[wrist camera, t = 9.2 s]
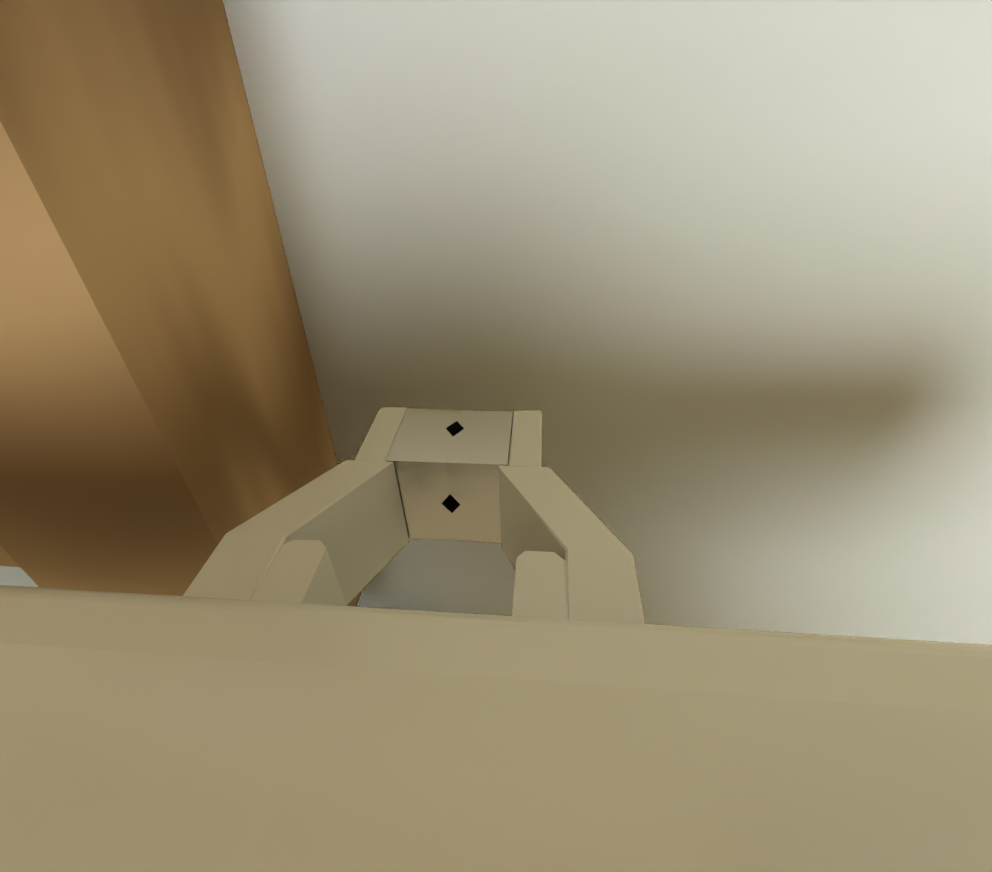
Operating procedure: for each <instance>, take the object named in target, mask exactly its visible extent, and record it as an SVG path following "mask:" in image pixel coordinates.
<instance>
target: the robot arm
mask: <svg viewBox="0 0 992 872" xmlns="http://www.w3.org/2000/svg"><path fill="white" fill-rule="evenodd" d="M541 464H542V412H541V410H531V411H514V412H513V411H462V410H451V409H430V408H407V407H383V408H381V409H379V410H378V412H377V414H376V416H375V418H374V420H373V422H372V424H371V426H370V429H369V431H368V433H367V435H366V437H365V439H364V441H363V443H362V445H361V447H360V449H359V451H358V453H357V455H356V457H355V459H354V460H345V461H344V462H342V463H340V464H339V465H337V466H335V467H334V468H332V469H331V470H329V471H327V472H326V473H324V474H322V475H321V476H319V477H318V478H316V479H314V480H313V481H311V482H309V483H308V484H306V485H304V486H303V487H301V488H300V489H298V490H296V491H295V492H293V493H291V494H290V495H288V496H286V497H285V498H283V499H282V500H280V501H278V502H277V503H275V504H273V505H272V506H270V507H269V508H267V509H265V510H264V511H262V512H260V513H259V514H257V515H255V516H254V517H252V518H251V519H249V520H247V521H246V522H244V523H242V524H241V525H239V526H237V527H236V528H234V529H233V530H231V531H229V532H228V533H226V534H225V536H224V537H223V538H222V540H221V541H220V543H219V544H218V546H217V547H216V549H215V550H214V551H213V553H212V554H211V556H210V557H209V559H208V560H207V562H206V563H205V564H204V566H203V567H202V569H201V570H200V572H199V573H198V575H197V576H196V577H195V579H194V580H193V582H192V583H191V585H190V586H189V588H188V589H187V590H186V592H185V593H184V595H183V596H174V595H157V594H141V593H124V592H108V591H91V590H74V589H58V588H41V587H25V586H8V585H0V872H992V645H985V644H969V643H952V642H936V641H919V640H902V639H886V638H869V637H853V636H836V635H819V634H803V633H786V632H770V631H753V630H737V629H720V628H703V627H687V626H670V625H654V624H645V620H644V614H643V608H642V603H641V597H640V591H639V586H638V580H637V574H636V568H635V563H634V557H633V554H632V553H631V552H630V551H629V550H628V549H627V548H626V547H625V545H624V544H623V543H622V542H621V541H620V540H619V539H618V538H617V537H616V536H615V535H614V534H613V533H612V532H611V531H610V530H609V529H608V528H607V527H606V526H605V525H604V524H603V523H602V521H601V520H600V519H599V518H598V517H597V516H596V515H595V514H594V513H593V512H592V511H591V510H590V509H589V508H588V507H587V506H586V505H585V504H584V503H583V502H582V501H581V500H580V499H579V497H578V496H577V495H576V494H575V493H574V492H573V491H572V490H571V489H570V488H569V487H568V486H567V485H566V484H565V483H564V482H563V481H562V480H561V479H560V478H559V477H558V476H557V475H556V473H555V472H554V471H553V470H552V469H551V468H549V467H541ZM409 539H449V540H466V541H480V542H493V543H501V546H502V548H503V549H504V551H505V553H506V555H507V556H508V558H509V560H510V562H511V563H512V565H513V567H514V569H515V582H514V595H513V607H512V616H506V615H489V614H473V613H456V612H440V611H423V610H406V609H390V608H373V607H357V606H347V605H348V603H349V602H350V601H351V600H352V599H353V598H354V597H355V596H356V595H357V594H358V593H359V592H360V591H361V590H362V589H363V588H364V587H365V586H366V585H367V584H368V583H369V582H370V581H371V580H372V579H373V578H374V577H375V576H376V575H377V574H378V573H379V572H380V571H381V570H382V569H383V568H384V567H385V566H386V564H387V563H388V562H389V561H390V560H391V559H392V558H393V557H394V556H395V555H396V554H397V553H398V552H399V551H400V550H401V549H402V548H403V547H404V546H405V545H406V544H407V543H408V542H409Z"/></svg>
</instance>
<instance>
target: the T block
mask: <svg viewBox="0 0 992 872" xmlns="http://www.w3.org/2000/svg"><path fill="white" fill-rule="evenodd" d="M337 465H338V464H337V460H336V456H335V452H334V448H333V444H332V440H331V436H330V432H329V428H328V424H327V420H326V416H325V412H324V408H323V404H322V400H321V396H320V392H319V388H318V384H317V380H316V376H315V372H314V368H313V364H312V359H311V355H310V351H309V347H308V343H307V339H306V335H305V331H304V327H303V323H302V319H301V315H300V311H299V307H298V303H297V299H296V295H295V291H294V287H293V283H292V279H291V275H290V271H289V267H288V263H287V259H286V255H285V251H284V246H283V242H282V238H281V234H280V230H279V226H278V222H277V218H276V214H275V210H274V206H273V202H272V198H271V194H270V190H269V186H268V182H267V178H266V174H265V170H264V166H263V162H262V158H261V154H260V150H259V146H258V142H257V138H256V134H255V129H254V125H253V121H252V117H251V113H250V109H249V105H248V101H247V97H246V93H245V89H244V85H243V81H242V77H241V73H240V69H239V65H238V61H237V57H236V53H235V49H234V45H233V41H232V37H231V33H230V29H229V25H228V21H227V17H226V12H225V8H224V4H223V0H0V566H8V567H21V568H22V569H23V570H24V572H25V573H26V574H27V575H28V576H29V577H30V578H31V579H32V580H33V581H34V582H35V583H36V584H37V586H38V587H41V588H58V589H74V590H91V591H108V592H124V593H141V594H157V595H174V596H183V595H184V593H185V592H186V590H187V589H188V588H189V586H190V585H191V583H192V582H193V580H194V579H195V577H196V576H197V575H198V573H199V572H200V570H201V569H202V567H203V566H204V564H205V563H206V562H207V560H208V559H209V557H210V556H211V554H212V553H213V551H214V550H215V549H216V547H217V546H218V544H219V543H220V541H221V540H222V538H223V537H224V536H225V534H226V533H228V532H229V531H231V530H233V529H234V528H236V527H237V526H239V525H241V524H242V523H244V522H246V521H247V520H249V519H251V518H252V517H254V516H255V515H257V514H259V513H260V512H262V511H264V510H265V509H267V508H269V507H270V506H272V505H273V504H275V503H277V502H278V501H280V500H282V499H283V498H285V497H286V496H288V495H290V494H291V493H293V492H295V491H296V490H298V489H300V488H301V487H303V486H304V485H306V484H308V483H309V482H311V481H313V480H314V479H316V478H318V477H319V476H321V475H322V474H324V473H326V472H327V471H329V470H331V469H332V468H334V467H335V466H337ZM361 592H362V590H361V591H360V592H359V593H358V594H357V595H356V596H355V597H354V598H353V599H352V600H351V601H350V602H349V603H348V605H347V606H357V603H358V600H359V597H360V595H361Z"/></svg>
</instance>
